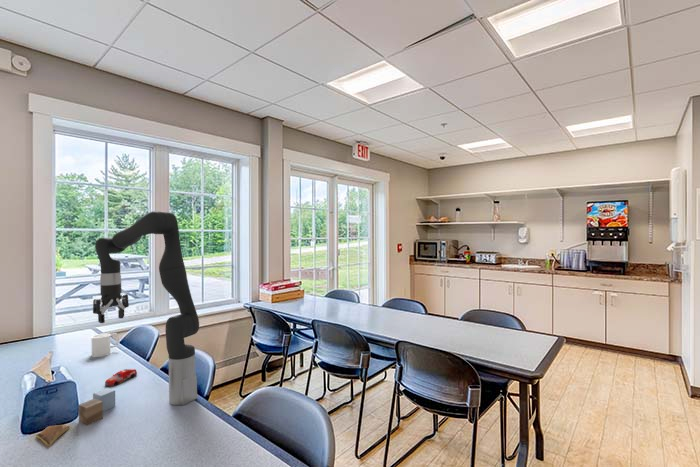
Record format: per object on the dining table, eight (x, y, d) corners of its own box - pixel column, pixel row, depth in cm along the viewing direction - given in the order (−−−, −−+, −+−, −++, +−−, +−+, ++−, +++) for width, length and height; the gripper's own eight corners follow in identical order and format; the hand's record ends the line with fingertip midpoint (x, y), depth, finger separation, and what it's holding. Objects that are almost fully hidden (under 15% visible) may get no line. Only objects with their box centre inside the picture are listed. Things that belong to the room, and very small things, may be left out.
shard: (49, 449, 106) (49, 443, 106) (20, 451, 105) (20, 446, 105) (71, 428, 117) (71, 423, 117) (45, 431, 115) (45, 425, 115)
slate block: (115, 406, 131) (115, 390, 131) (100, 412, 126) (100, 396, 126) (107, 403, 133) (107, 387, 133) (93, 409, 129) (93, 393, 129)
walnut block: (102, 418, 122) (102, 401, 122) (86, 425, 118) (86, 407, 118) (94, 415, 125) (94, 398, 125) (78, 422, 120) (78, 404, 120)
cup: (120, 352, 188) (119, 334, 188) (92, 358, 180) (92, 339, 180) (117, 349, 194) (117, 331, 194) (90, 354, 186) (90, 335, 186)
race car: (111, 388, 146) (110, 379, 146) (101, 386, 148) (101, 377, 148) (139, 375, 159) (139, 366, 159) (130, 374, 161) (130, 365, 161)
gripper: (100, 286, 143) (101, 325, 143) (132, 281, 157) (133, 317, 157) (87, 285, 146) (88, 324, 146) (120, 280, 159) (120, 316, 159)
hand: (111, 320), depth 151 cm, fingers open, 8 cm apart
